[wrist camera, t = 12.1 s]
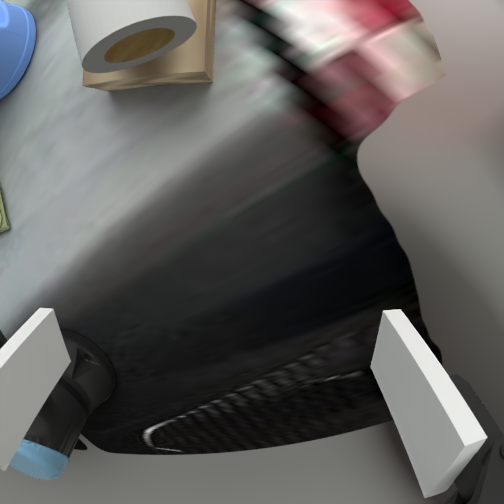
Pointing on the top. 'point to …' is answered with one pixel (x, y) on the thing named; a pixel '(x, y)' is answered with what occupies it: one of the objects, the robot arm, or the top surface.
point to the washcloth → (3, 217)
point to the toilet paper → (128, 31)
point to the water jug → (14, 44)
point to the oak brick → (169, 59)
